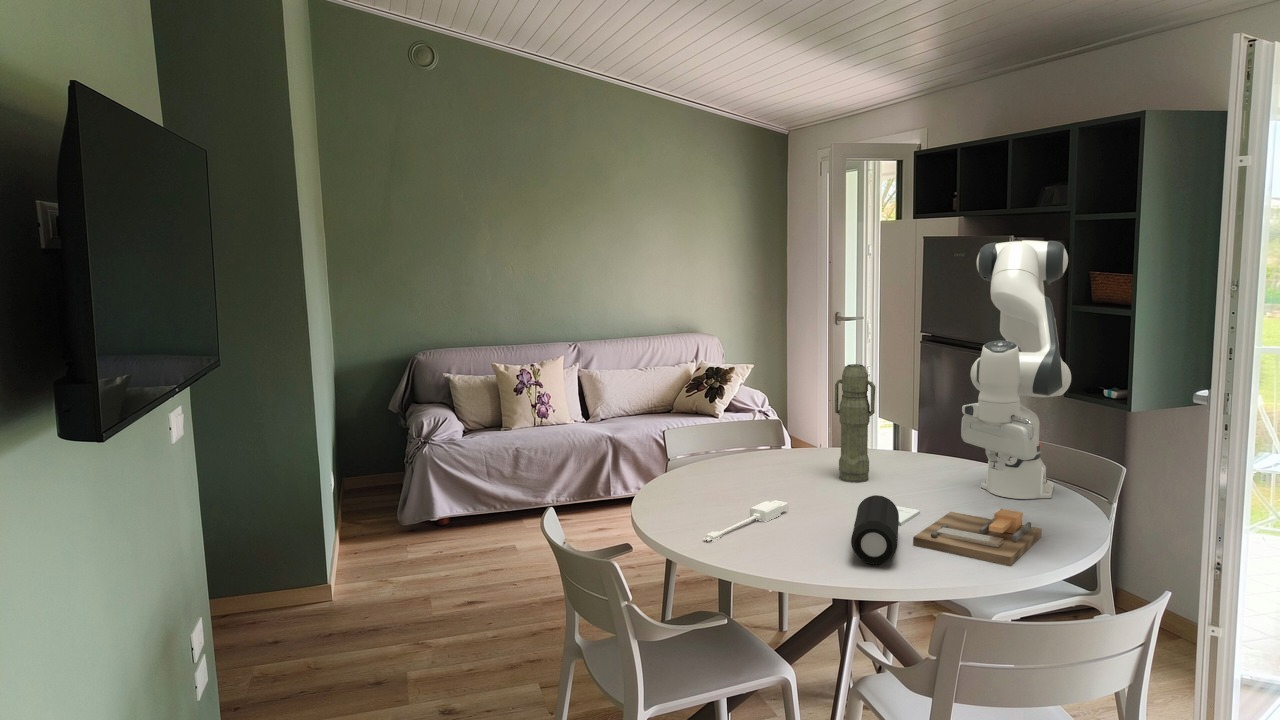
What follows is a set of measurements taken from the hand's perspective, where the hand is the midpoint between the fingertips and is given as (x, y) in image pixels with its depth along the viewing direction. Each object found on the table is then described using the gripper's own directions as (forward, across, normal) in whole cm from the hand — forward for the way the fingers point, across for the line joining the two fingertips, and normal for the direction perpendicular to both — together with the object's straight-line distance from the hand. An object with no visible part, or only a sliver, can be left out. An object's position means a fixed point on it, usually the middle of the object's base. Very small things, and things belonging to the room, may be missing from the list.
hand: (996, 469), depth 196 cm
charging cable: (+18, +35, +48) cm, 62 cm away
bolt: (+16, -1, -2) cm, 16 cm away
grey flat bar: (+15, -1, +8) cm, 18 cm away
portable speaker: (+18, +8, +28) cm, 34 cm away
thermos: (+19, +60, -2) cm, 63 cm away
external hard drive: (+19, +25, +9) cm, 33 cm away
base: (+18, +2, +3) cm, 18 cm away
